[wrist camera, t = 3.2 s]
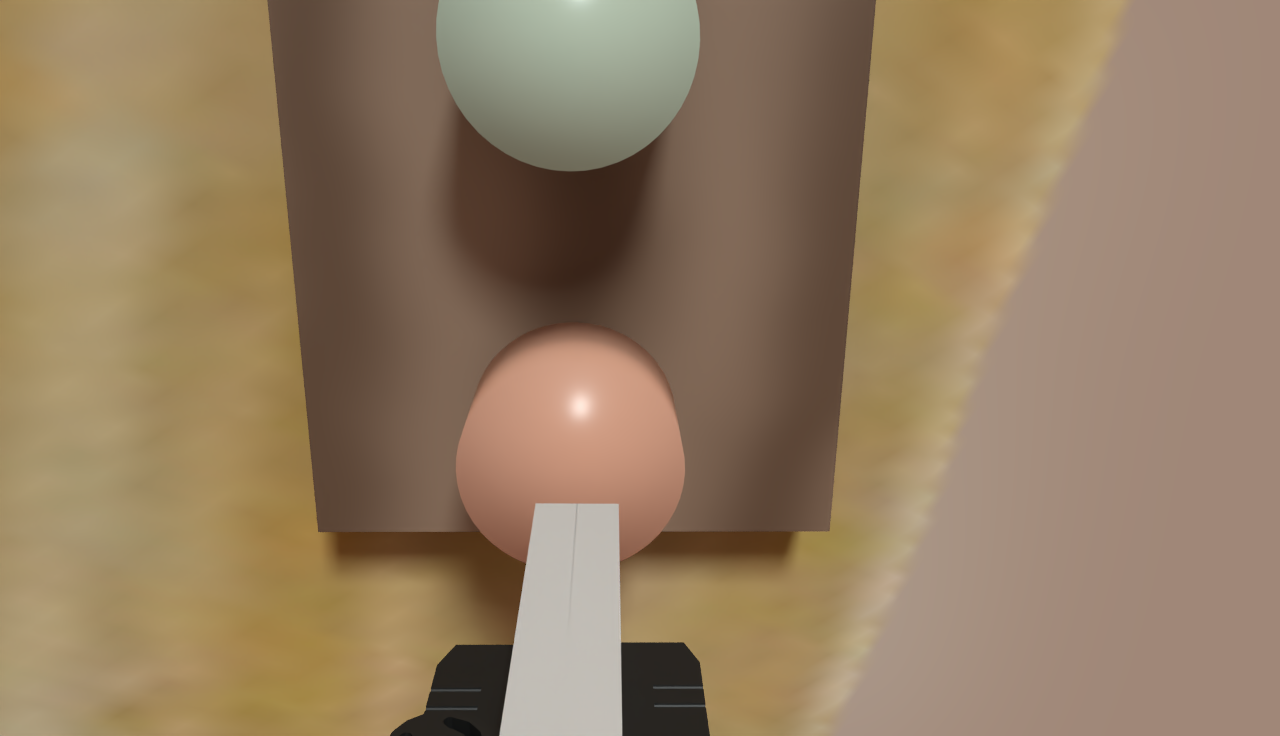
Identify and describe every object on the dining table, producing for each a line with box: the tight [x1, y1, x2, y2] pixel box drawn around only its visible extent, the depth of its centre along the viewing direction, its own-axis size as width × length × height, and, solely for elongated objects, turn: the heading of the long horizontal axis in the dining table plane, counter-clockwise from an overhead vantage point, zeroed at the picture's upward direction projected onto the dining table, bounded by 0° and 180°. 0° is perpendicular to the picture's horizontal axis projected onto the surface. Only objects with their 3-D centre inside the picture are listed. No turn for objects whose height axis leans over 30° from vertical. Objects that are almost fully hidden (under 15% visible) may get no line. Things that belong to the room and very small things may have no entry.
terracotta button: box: [456, 322, 685, 563], centre depth 24 cm, size 5×5×3 cm
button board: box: [268, 0, 876, 532], centre depth 25 cm, size 14×26×3 cm, turn 179°
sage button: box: [436, 0, 700, 171], centre depth 21 cm, size 5×5×3 cm
